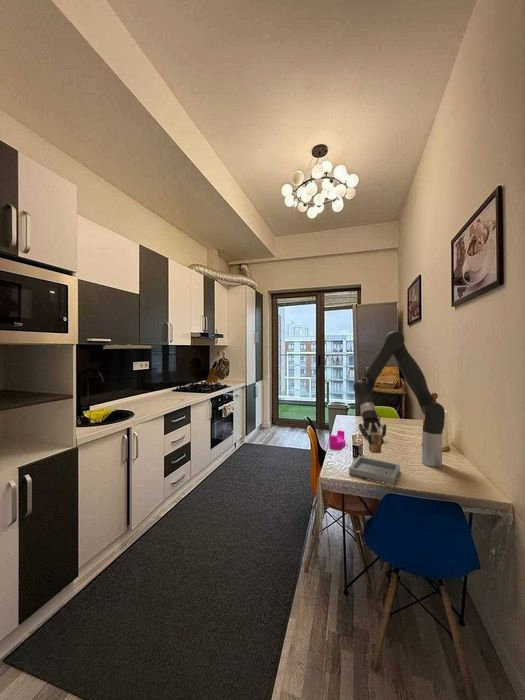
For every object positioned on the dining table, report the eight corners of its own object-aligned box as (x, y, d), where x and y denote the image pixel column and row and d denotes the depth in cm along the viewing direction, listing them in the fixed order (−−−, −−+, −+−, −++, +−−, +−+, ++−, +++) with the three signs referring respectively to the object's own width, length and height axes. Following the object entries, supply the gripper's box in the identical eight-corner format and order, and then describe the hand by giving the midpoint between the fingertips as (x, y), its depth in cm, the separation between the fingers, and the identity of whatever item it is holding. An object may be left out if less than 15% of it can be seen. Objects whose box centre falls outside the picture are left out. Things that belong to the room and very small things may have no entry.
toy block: (339, 450, 174) (339, 437, 174) (329, 448, 178) (329, 435, 178) (347, 443, 186) (348, 431, 186) (338, 441, 190) (338, 430, 190)
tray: (399, 471, 145) (399, 464, 145) (394, 486, 130) (394, 478, 130) (358, 462, 156) (358, 456, 156) (349, 475, 140) (349, 467, 140)
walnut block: (377, 449, 145) (378, 431, 144) (381, 453, 140) (381, 434, 140) (368, 449, 145) (369, 431, 145) (371, 452, 140) (372, 434, 140)
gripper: (356, 409, 150) (363, 440, 138) (384, 409, 149) (393, 441, 137) (353, 416, 155) (359, 447, 143) (380, 417, 155) (389, 448, 143)
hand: (376, 444), depth 141 cm, fingers closed on walnut block, 4 cm apart
